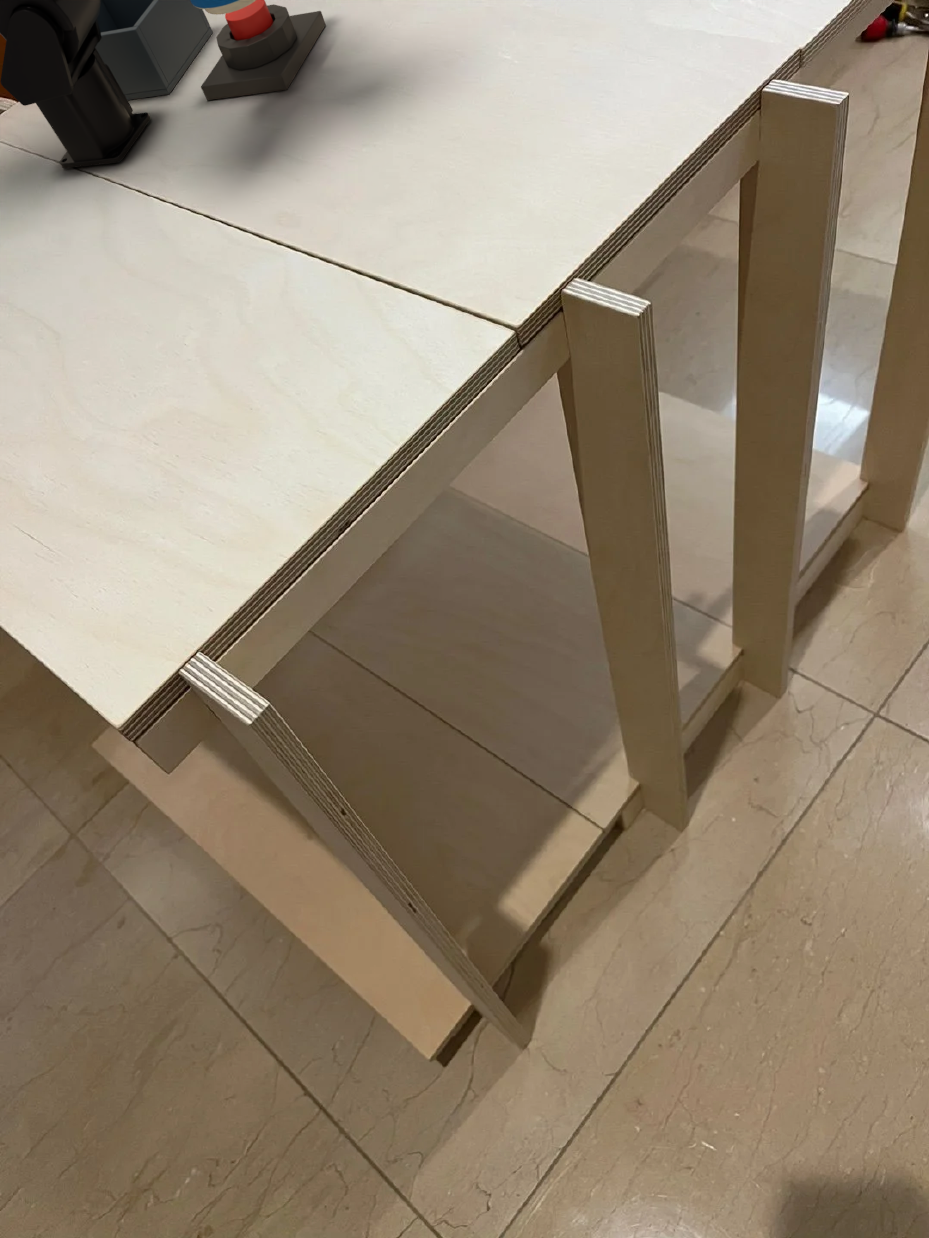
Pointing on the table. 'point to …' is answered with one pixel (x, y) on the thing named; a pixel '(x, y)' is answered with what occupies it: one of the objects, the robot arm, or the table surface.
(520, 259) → the table surface
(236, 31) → the button
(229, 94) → the panel
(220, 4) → the beverage can
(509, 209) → the table surface
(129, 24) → the basket
